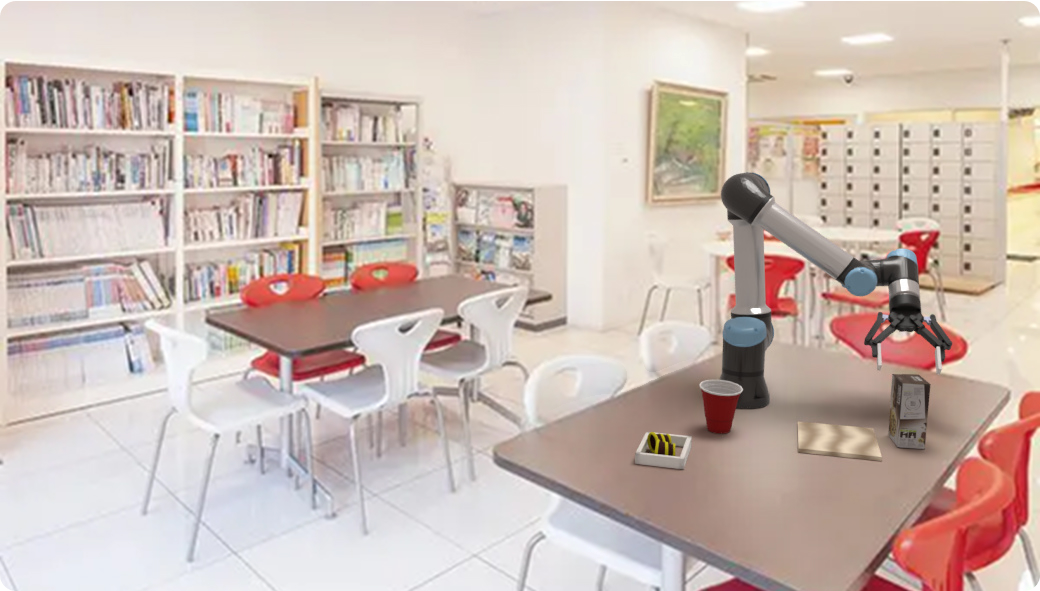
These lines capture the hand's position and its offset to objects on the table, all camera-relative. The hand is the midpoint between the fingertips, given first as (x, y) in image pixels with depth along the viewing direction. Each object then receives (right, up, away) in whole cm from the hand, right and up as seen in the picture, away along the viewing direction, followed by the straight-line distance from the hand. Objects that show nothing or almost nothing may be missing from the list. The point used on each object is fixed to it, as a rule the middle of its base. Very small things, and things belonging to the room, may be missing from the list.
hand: (909, 369), depth 194 cm
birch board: (-20, -17, -5) cm, 27 cm away
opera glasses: (-65, -19, -13) cm, 69 cm away
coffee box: (-3, -17, -6) cm, 19 cm away
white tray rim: (-64, -19, -12) cm, 68 cm away
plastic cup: (-47, -16, +4) cm, 50 cm away
